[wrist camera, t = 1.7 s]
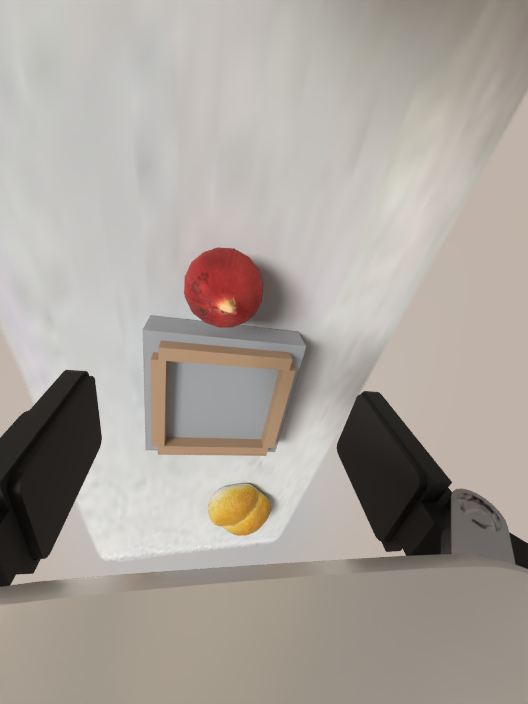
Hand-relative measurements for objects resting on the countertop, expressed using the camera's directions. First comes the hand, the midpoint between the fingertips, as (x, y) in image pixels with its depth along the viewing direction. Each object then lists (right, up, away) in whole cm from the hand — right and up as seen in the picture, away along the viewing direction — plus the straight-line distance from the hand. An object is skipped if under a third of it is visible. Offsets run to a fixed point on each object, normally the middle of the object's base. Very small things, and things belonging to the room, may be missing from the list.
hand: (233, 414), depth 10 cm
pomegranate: (-2, +9, +14) cm, 17 cm away
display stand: (-4, -1, +20) cm, 20 cm away
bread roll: (-3, -19, +31) cm, 37 cm away
